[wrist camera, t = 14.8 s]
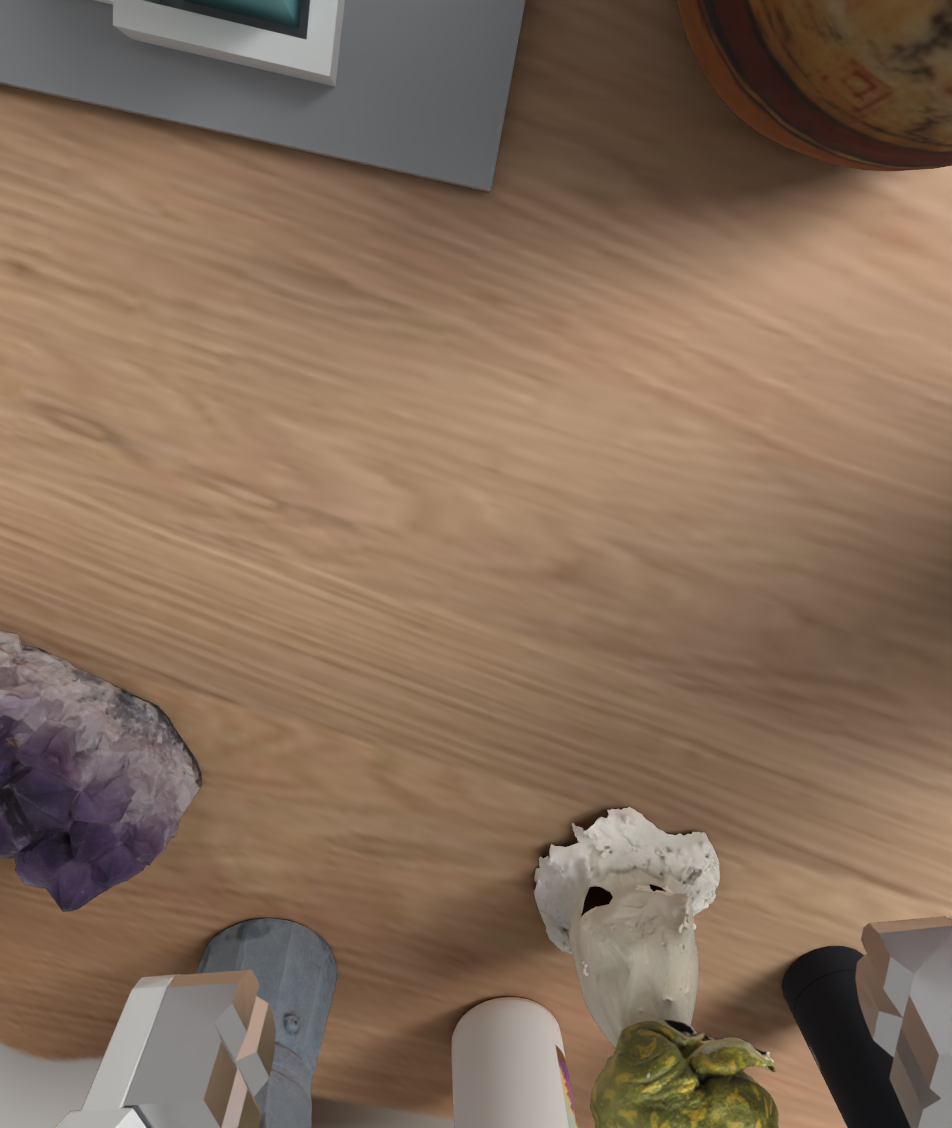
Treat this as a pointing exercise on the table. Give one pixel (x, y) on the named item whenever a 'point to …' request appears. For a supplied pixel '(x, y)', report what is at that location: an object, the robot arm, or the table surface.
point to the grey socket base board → (288, 73)
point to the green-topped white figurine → (648, 976)
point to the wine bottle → (842, 1038)
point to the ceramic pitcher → (834, 75)
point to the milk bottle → (510, 1068)
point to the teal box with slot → (260, 9)
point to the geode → (83, 776)
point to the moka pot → (283, 1005)
